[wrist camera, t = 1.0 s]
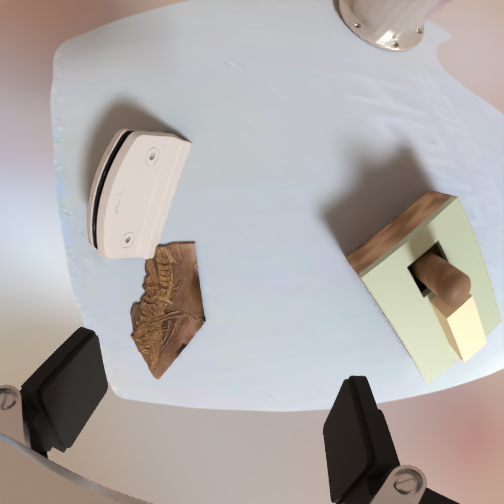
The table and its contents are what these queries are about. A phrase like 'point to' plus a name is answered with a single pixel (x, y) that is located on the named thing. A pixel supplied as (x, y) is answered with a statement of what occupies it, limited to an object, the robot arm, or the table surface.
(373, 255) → the box with square hole
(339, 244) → the table surface
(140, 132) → the white curved device casing
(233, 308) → the table surface
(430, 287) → the pin
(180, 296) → the wooden fragment
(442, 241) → the lid
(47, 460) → the robot arm
